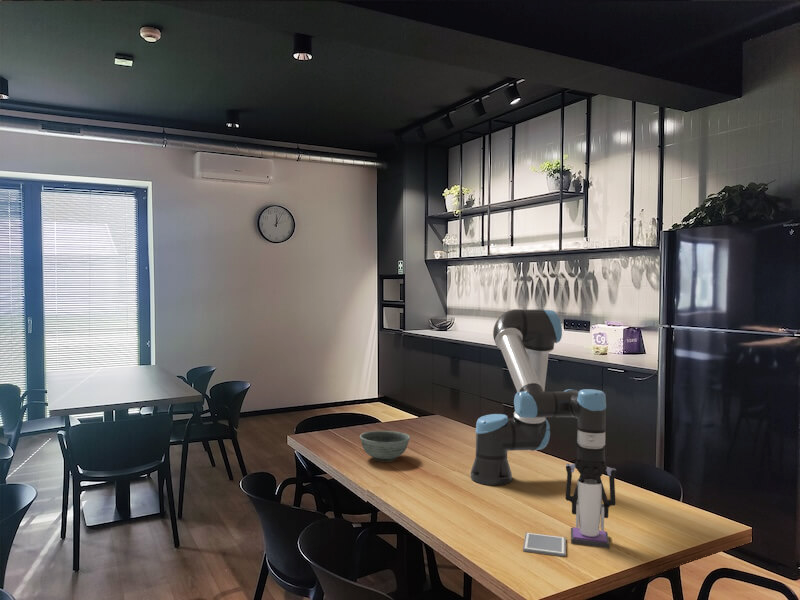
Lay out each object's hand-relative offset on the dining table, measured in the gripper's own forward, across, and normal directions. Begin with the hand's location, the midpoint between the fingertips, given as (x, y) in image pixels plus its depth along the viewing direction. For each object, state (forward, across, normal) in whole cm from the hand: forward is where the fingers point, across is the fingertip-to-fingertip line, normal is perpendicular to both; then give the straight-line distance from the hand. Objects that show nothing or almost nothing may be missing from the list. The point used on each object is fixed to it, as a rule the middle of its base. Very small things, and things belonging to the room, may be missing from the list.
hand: (589, 526), depth 161 cm
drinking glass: (+2, 0, 0) cm, 2 cm away
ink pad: (+4, 0, 0) cm, 4 cm away
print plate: (+4, -12, -8) cm, 15 cm away
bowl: (+4, -78, +55) cm, 96 cm away
